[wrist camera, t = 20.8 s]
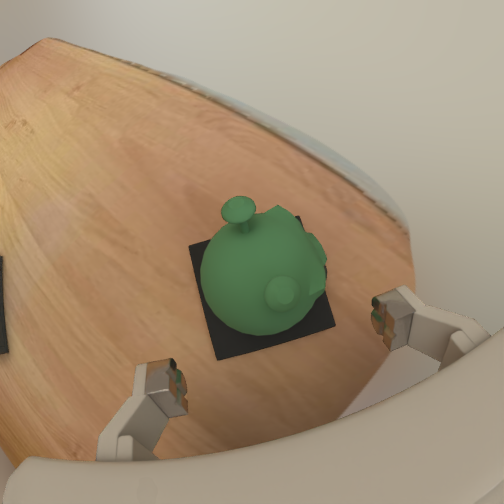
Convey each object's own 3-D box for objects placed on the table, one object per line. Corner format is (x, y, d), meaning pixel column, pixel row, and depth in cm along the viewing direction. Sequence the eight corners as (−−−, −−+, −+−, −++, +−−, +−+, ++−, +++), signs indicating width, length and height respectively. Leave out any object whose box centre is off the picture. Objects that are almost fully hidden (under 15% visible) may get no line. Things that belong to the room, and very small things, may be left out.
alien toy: (332, 303, 21) (387, 275, 11) (239, 352, 20) (220, 365, 11) (288, 223, 23) (305, 146, 13) (198, 267, 22) (153, 214, 12)
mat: (334, 326, 21) (336, 325, 21) (217, 360, 21) (217, 360, 20) (298, 217, 23) (299, 215, 23) (189, 247, 23) (188, 245, 23)
